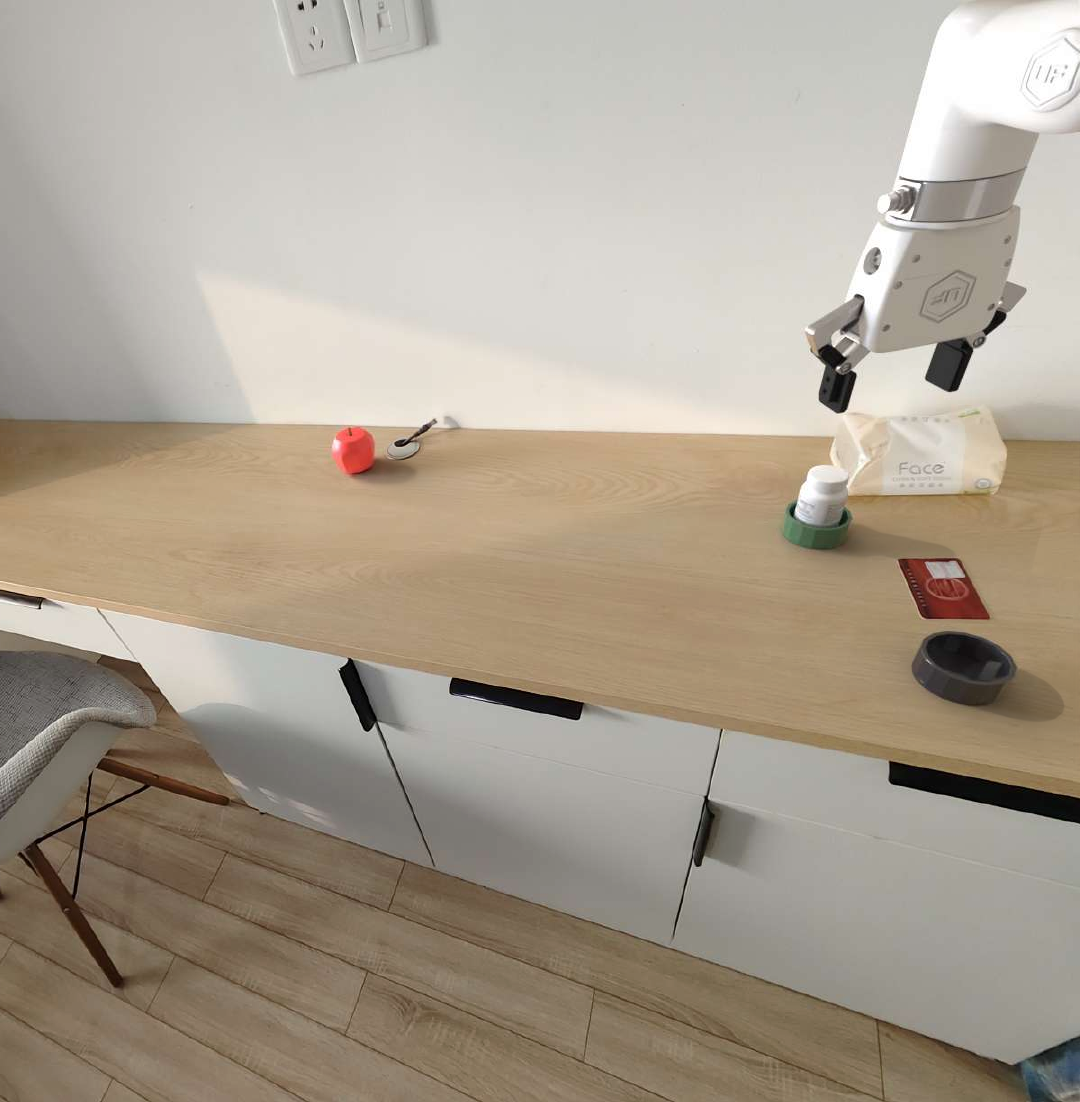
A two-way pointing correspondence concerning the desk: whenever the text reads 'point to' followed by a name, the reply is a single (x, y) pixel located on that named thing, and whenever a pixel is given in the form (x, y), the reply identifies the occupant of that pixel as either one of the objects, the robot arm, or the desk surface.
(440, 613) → the desk surface
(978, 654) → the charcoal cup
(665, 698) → the desk surface
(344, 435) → the apple
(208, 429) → the desk surface
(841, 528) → the green round container
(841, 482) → the pill bottle
